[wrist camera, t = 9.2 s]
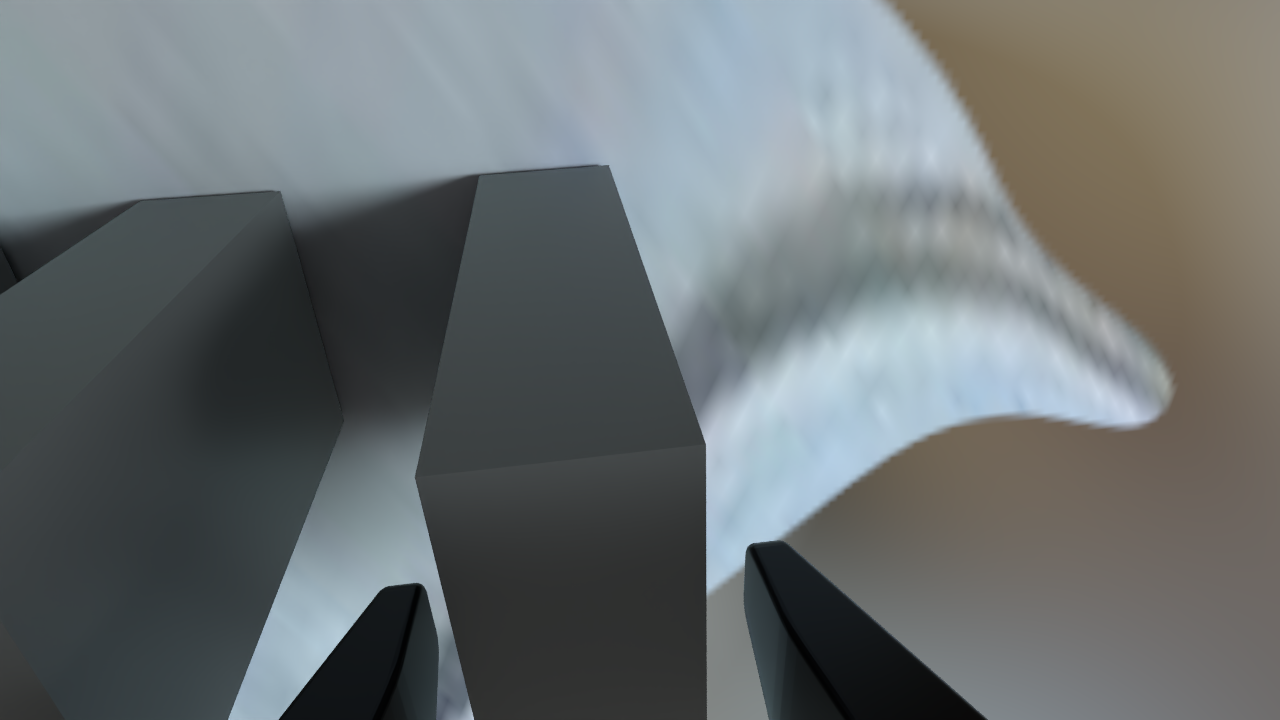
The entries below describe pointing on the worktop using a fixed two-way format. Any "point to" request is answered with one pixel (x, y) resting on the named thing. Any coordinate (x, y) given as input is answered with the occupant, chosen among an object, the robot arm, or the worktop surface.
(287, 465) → the domino
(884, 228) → the worktop surface
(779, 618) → the robot arm
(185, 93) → the worktop surface
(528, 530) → the domino
